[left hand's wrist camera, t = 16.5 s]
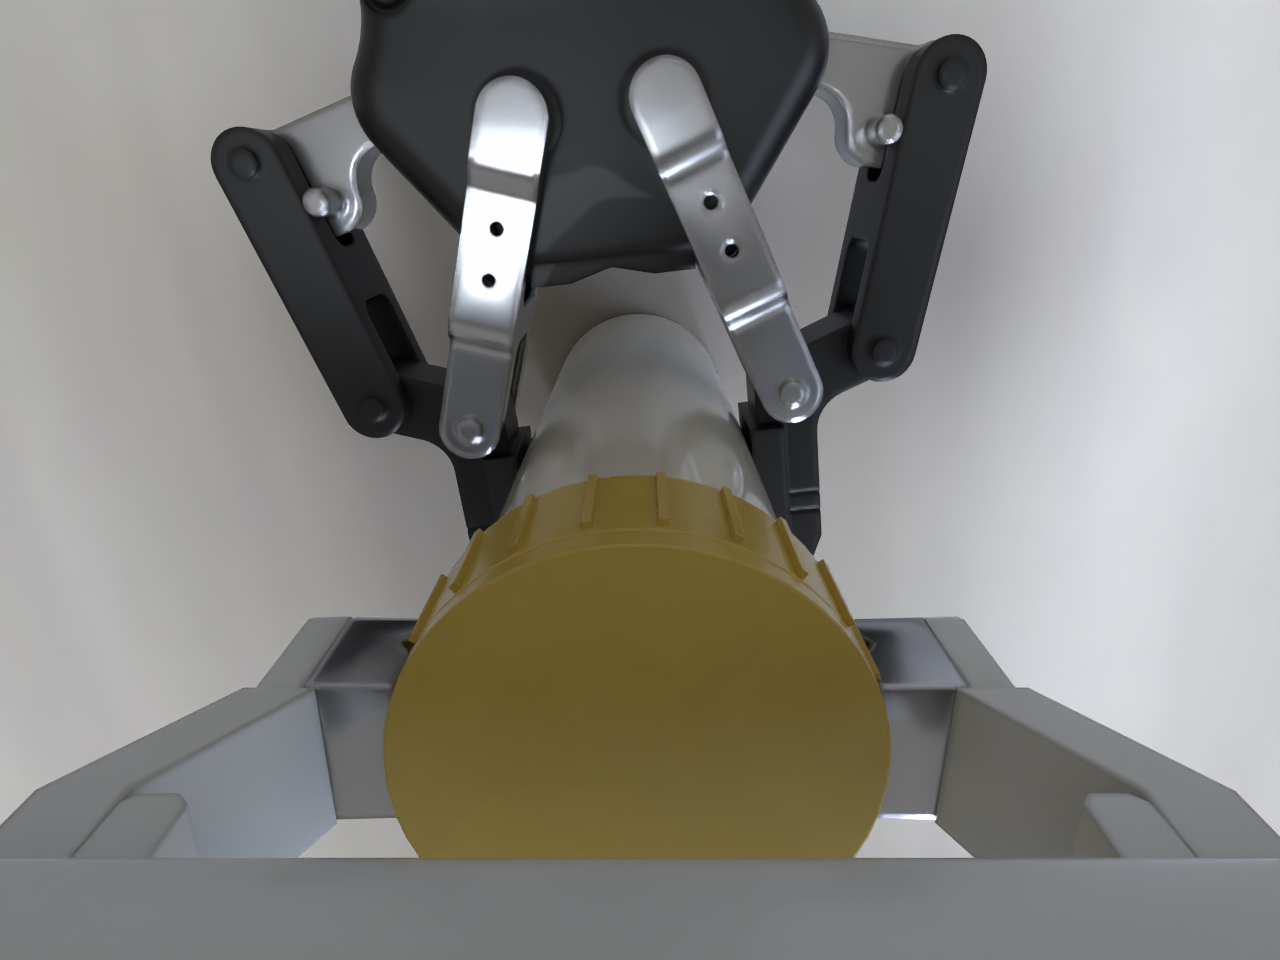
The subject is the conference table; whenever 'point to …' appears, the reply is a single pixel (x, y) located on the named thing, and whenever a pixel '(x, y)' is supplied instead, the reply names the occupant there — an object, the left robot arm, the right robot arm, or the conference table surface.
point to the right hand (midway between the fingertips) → (653, 579)
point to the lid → (637, 688)
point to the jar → (638, 415)
